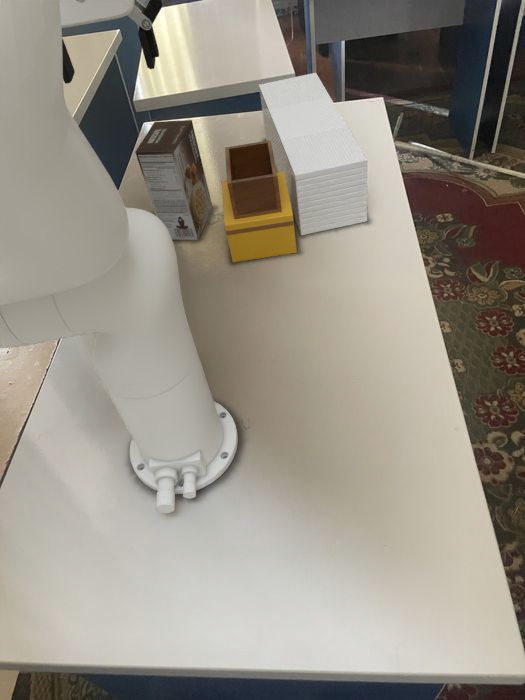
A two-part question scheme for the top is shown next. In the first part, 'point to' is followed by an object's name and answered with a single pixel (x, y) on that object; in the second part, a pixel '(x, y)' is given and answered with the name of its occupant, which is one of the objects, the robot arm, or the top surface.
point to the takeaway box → (260, 229)
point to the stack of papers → (315, 154)
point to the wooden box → (252, 179)
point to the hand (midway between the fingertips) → (111, 71)
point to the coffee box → (175, 178)
